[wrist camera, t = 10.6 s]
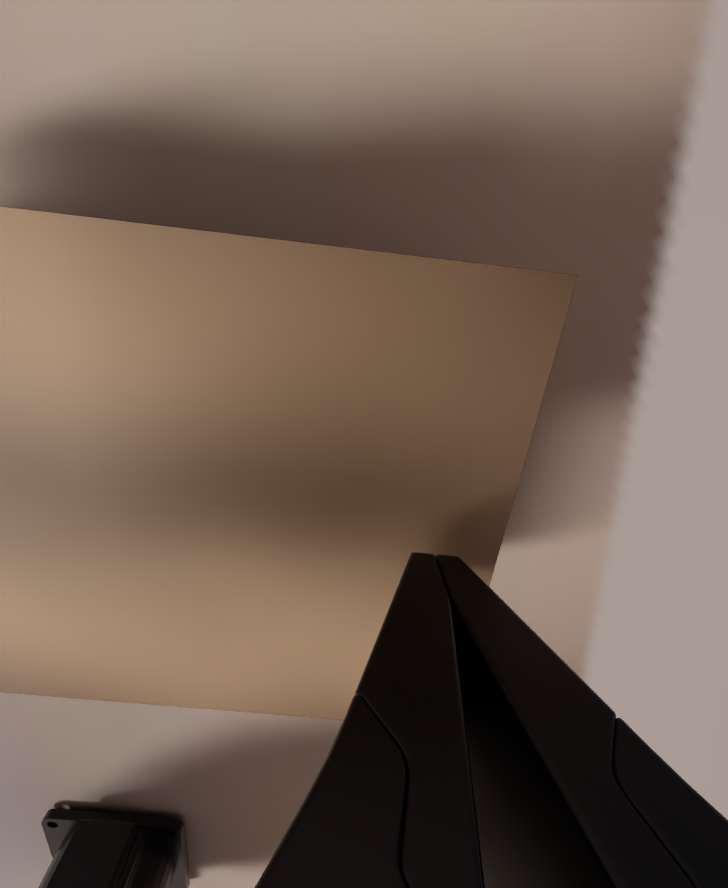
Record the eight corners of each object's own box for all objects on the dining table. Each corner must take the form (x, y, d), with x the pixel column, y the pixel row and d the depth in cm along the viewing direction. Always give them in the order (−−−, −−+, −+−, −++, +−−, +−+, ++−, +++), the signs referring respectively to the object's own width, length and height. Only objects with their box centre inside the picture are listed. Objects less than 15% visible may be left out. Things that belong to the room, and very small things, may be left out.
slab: (434, 641, 13) (448, 728, 10) (-69, 597, 12) (-171, 677, 10) (522, 268, 9) (578, 275, 6) (-225, 179, 8) (-457, 152, 6)
